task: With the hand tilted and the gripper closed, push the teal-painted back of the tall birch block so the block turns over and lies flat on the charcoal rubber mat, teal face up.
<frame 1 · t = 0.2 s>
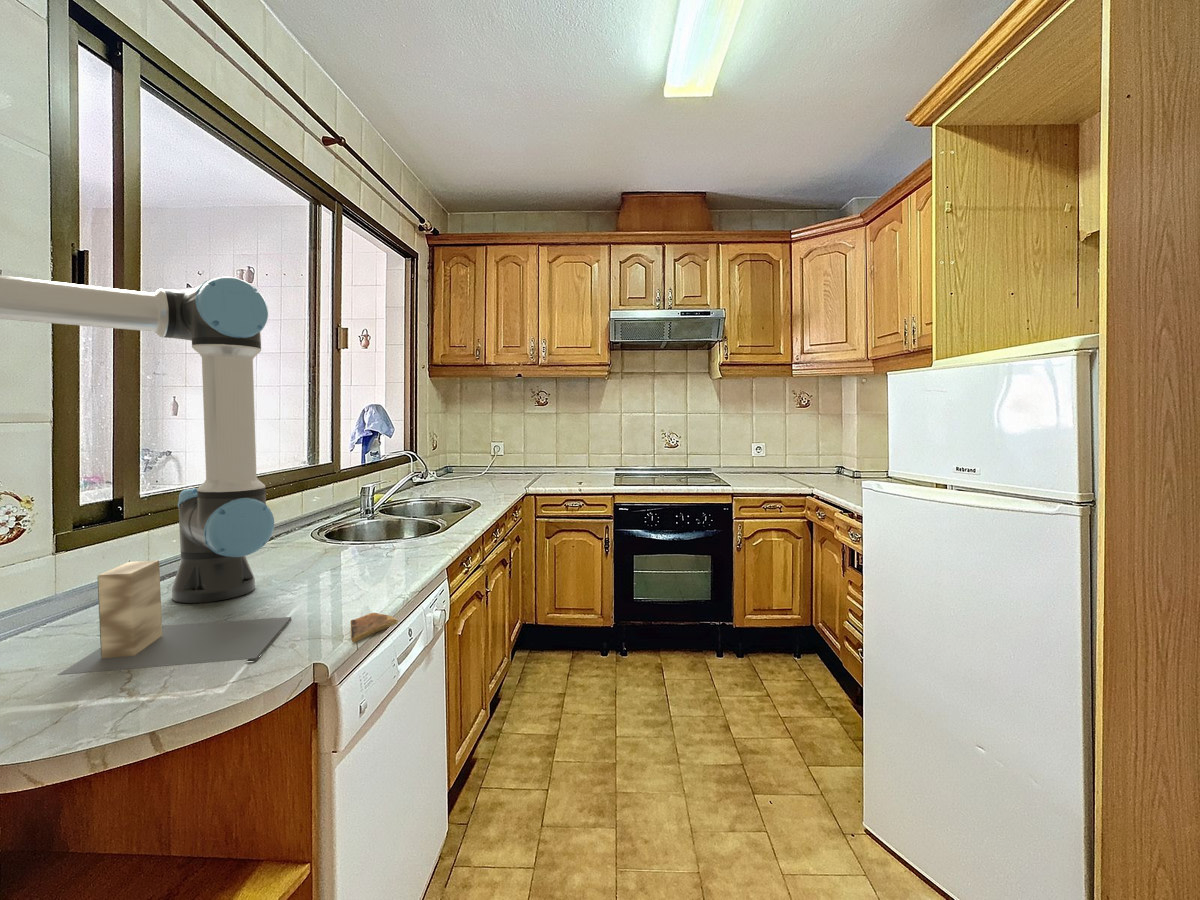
birch block: (133, 646, 98), point 1 cm above the worktop, touching rubber mat
shard: (374, 632, 108), on the worktop
rubber mat: (189, 645, 100), on the worktop
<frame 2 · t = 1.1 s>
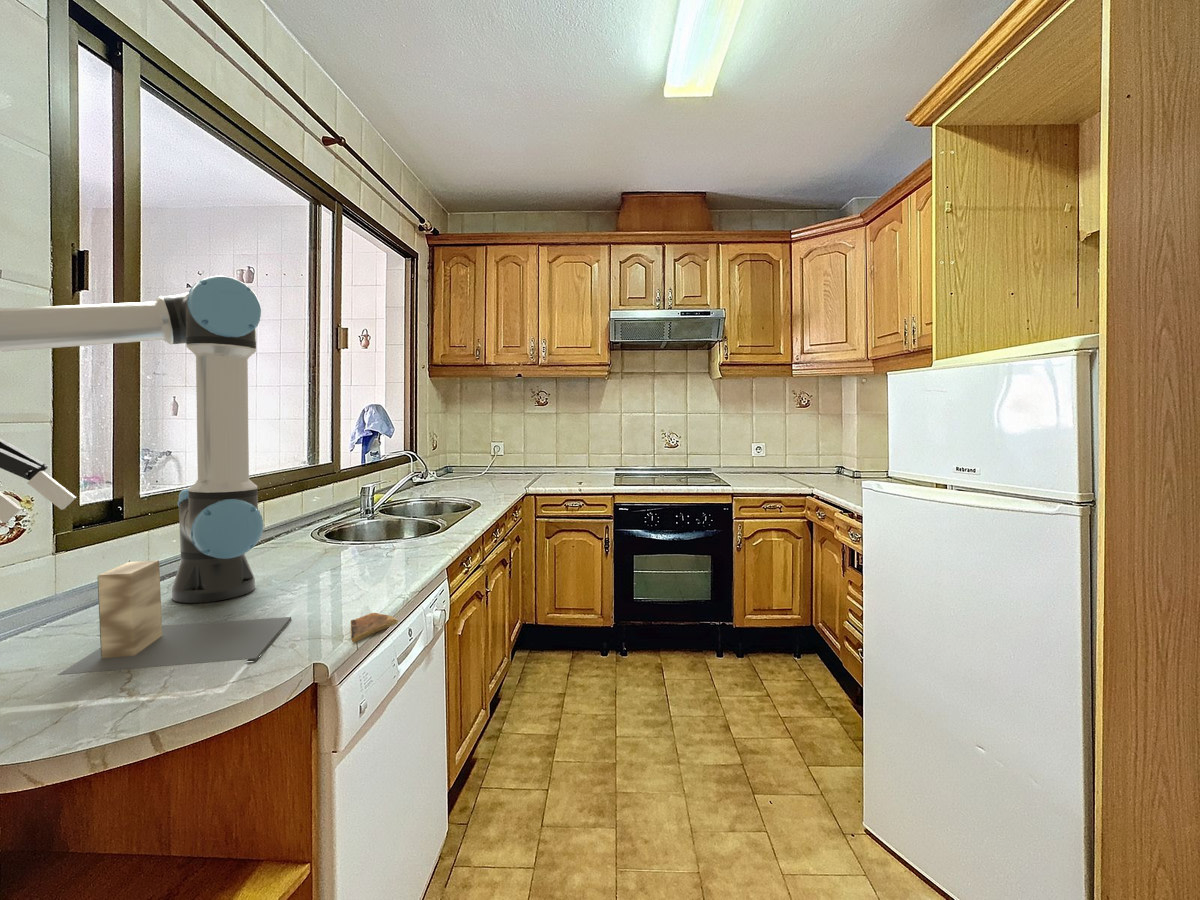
hand: (43, 509, 94), 23 cm above the worktop, tool tilted 45°, fingers open, 12 cm apart
nothing on the worktop moved.
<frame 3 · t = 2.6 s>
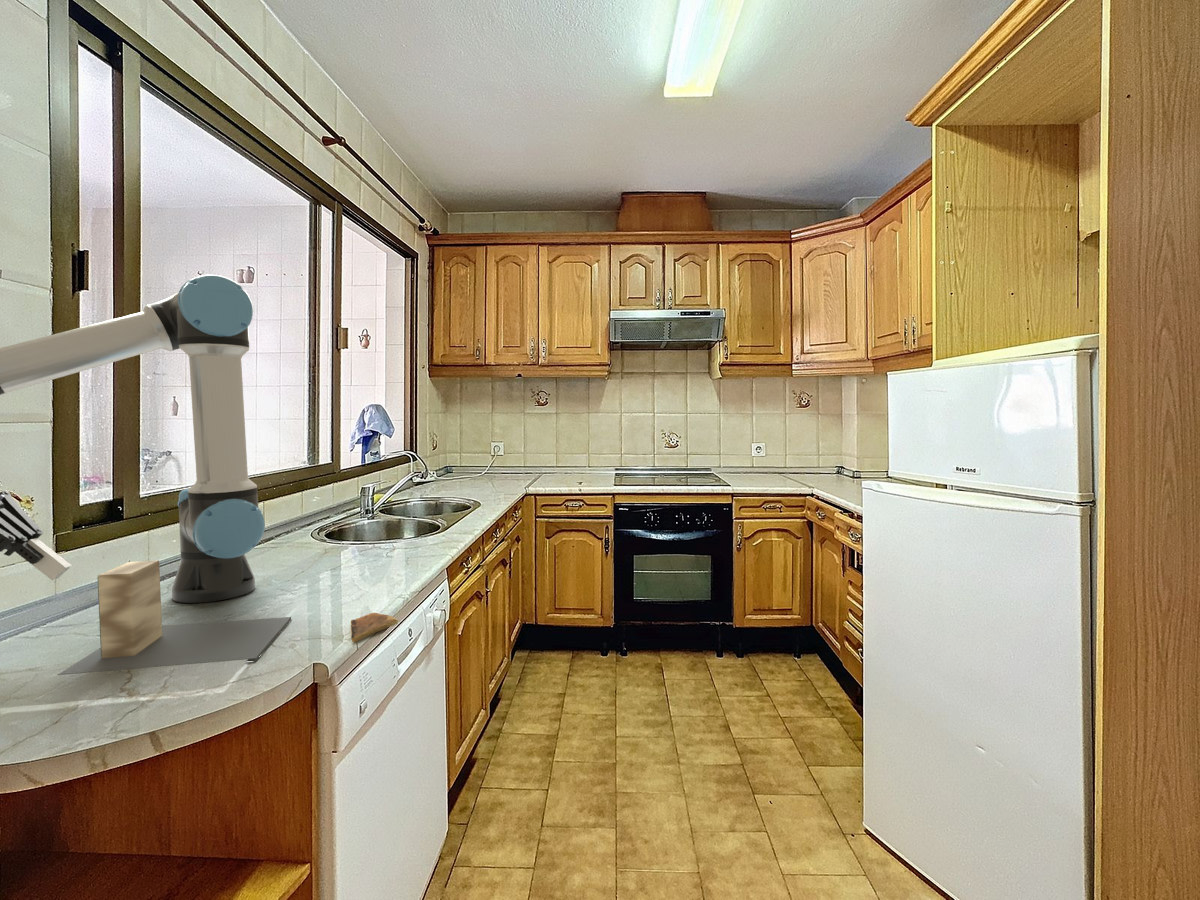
hand: (62, 572, 95), 13 cm above the worktop, tool tilted 45°, fingers closed
nothing on the worktop moved.
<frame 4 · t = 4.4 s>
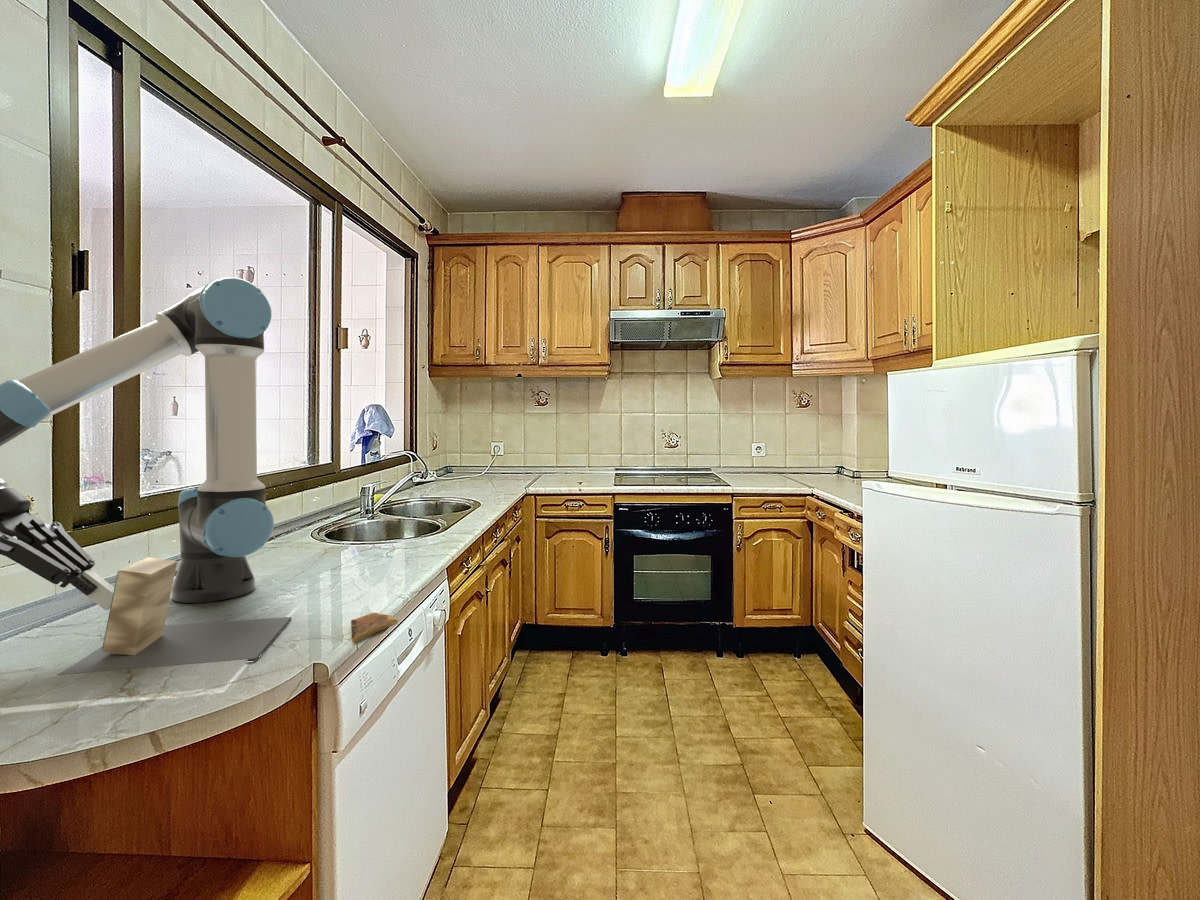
hand: (115, 602, 97), 8 cm above the worktop, tool tilted 45°, fingers closed
birch block: (133, 643, 98), point 1 cm above the worktop, tilted 12°, touching gripper, rubber mat
everything else where it was.
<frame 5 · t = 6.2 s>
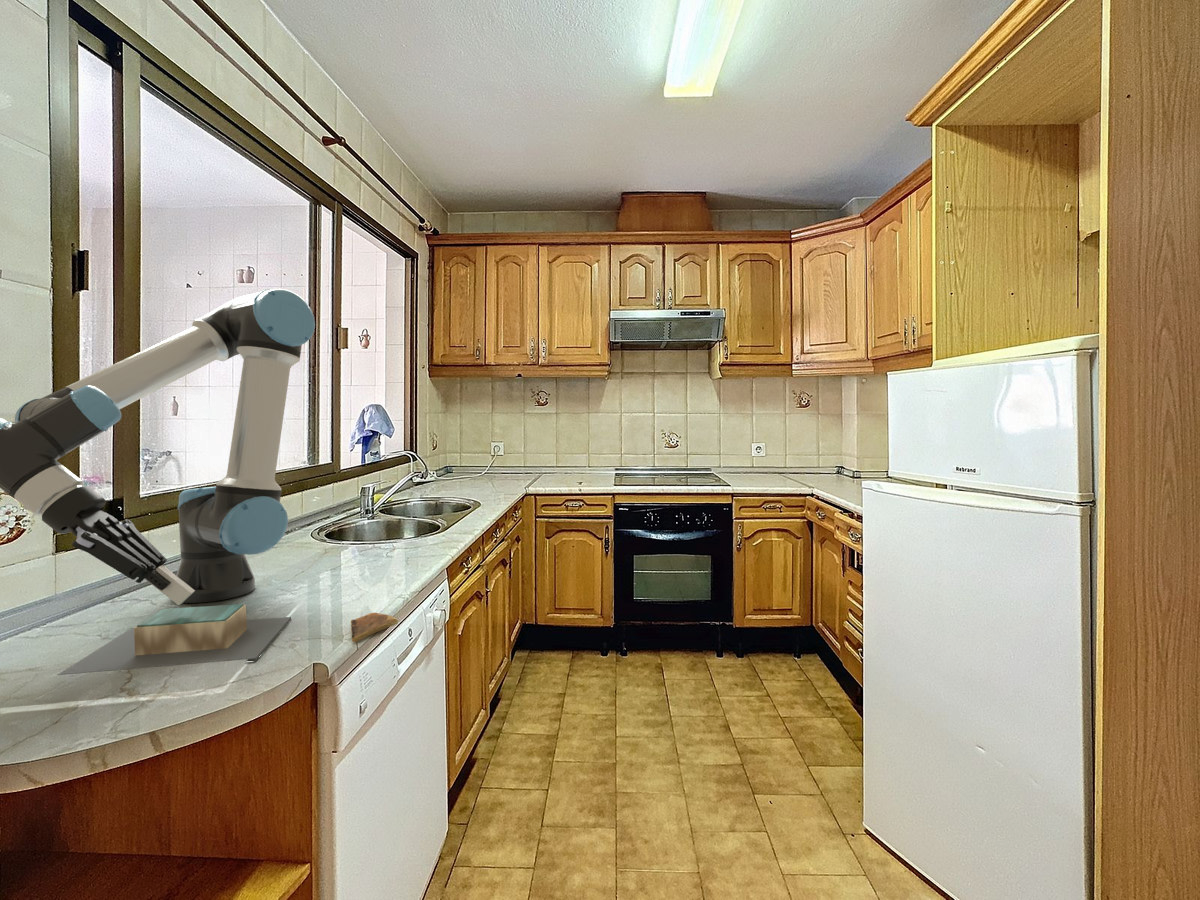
hand: (186, 597, 100), 8 cm above the worktop, tool tilted 45°, fingers closed
birch block: (148, 631, 99), point 3 cm above the worktop, tilted 90°, touching rubber mat
everything else where it was.
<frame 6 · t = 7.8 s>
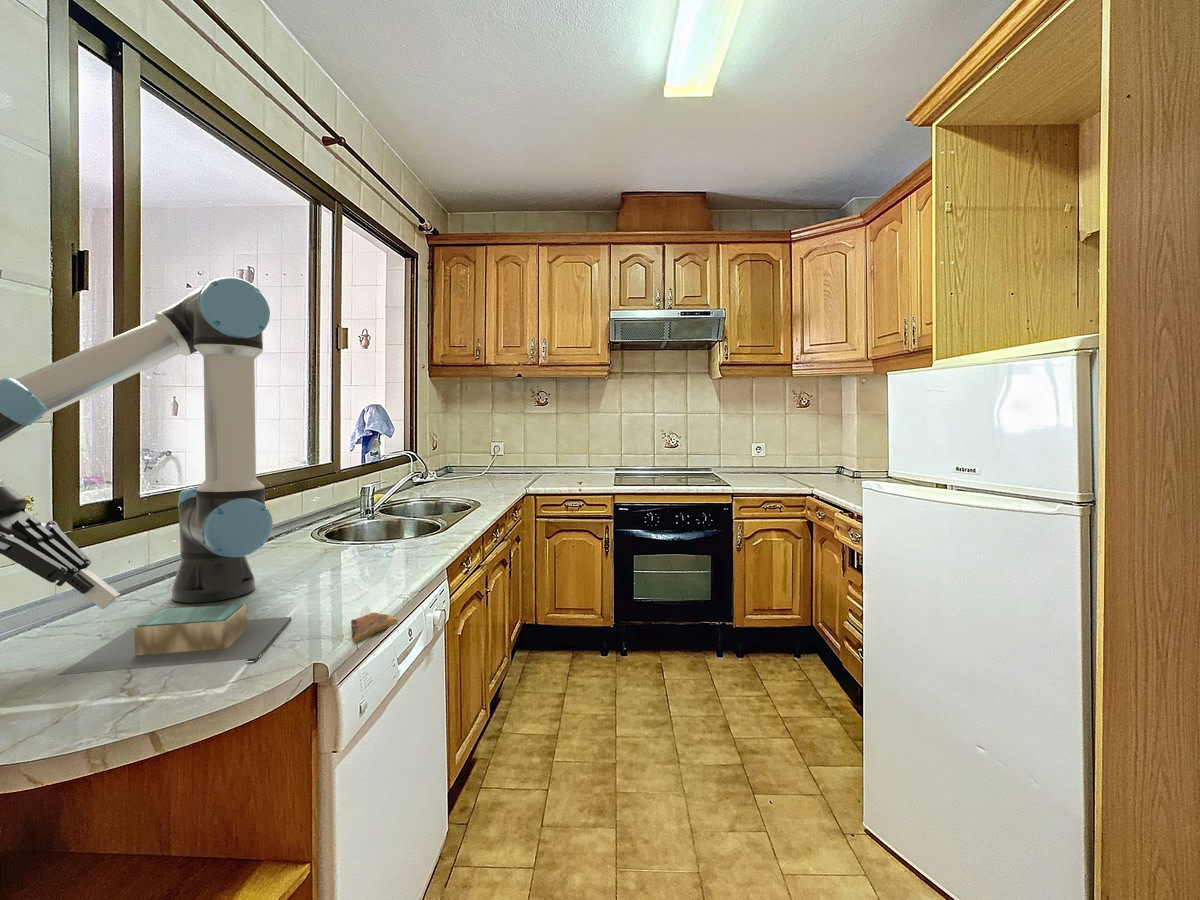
hand: (111, 601, 97), 8 cm above the worktop, tool tilted 45°, fingers closed
nothing on the worktop moved.
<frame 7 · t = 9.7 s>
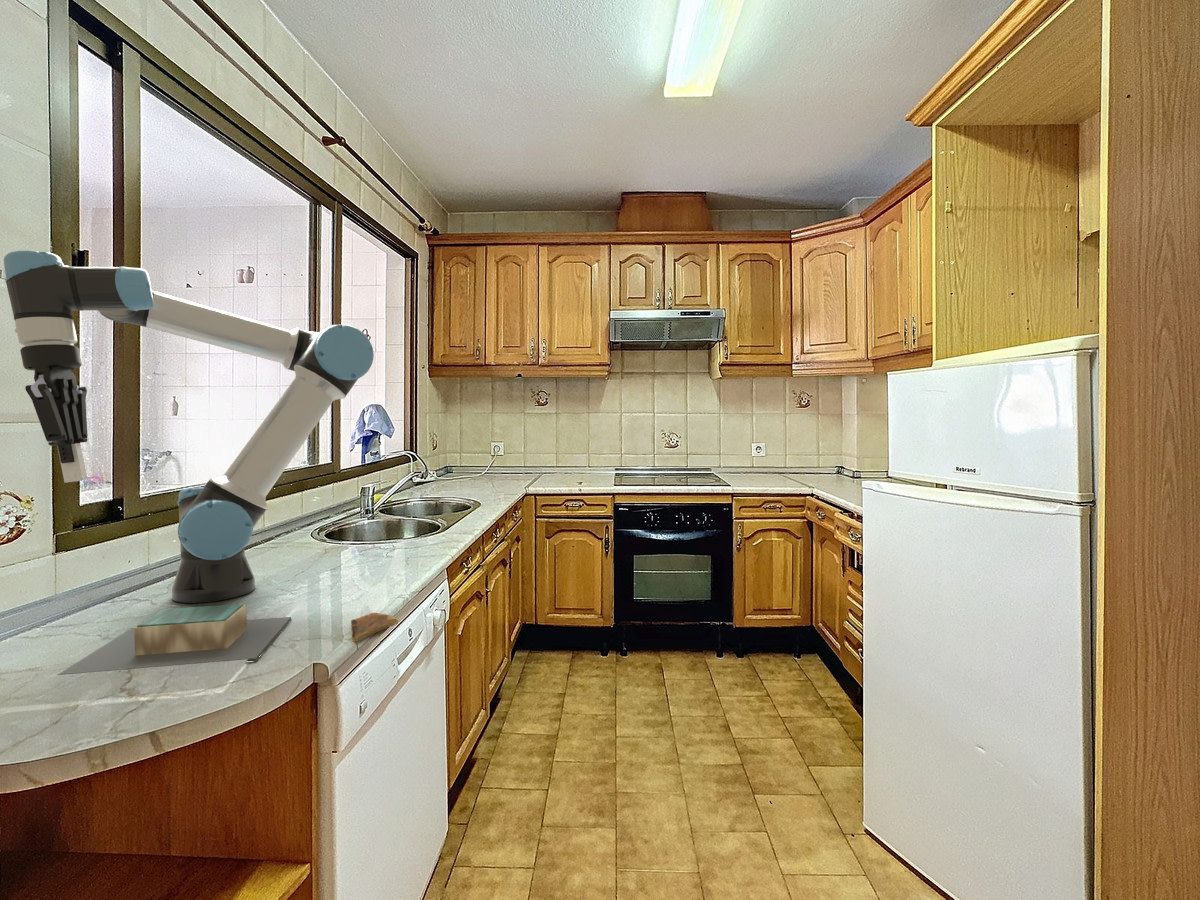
hand: (76, 480, 106), 27 cm above the worktop, tool pointing down, fingers closed
nothing on the worktop moved.
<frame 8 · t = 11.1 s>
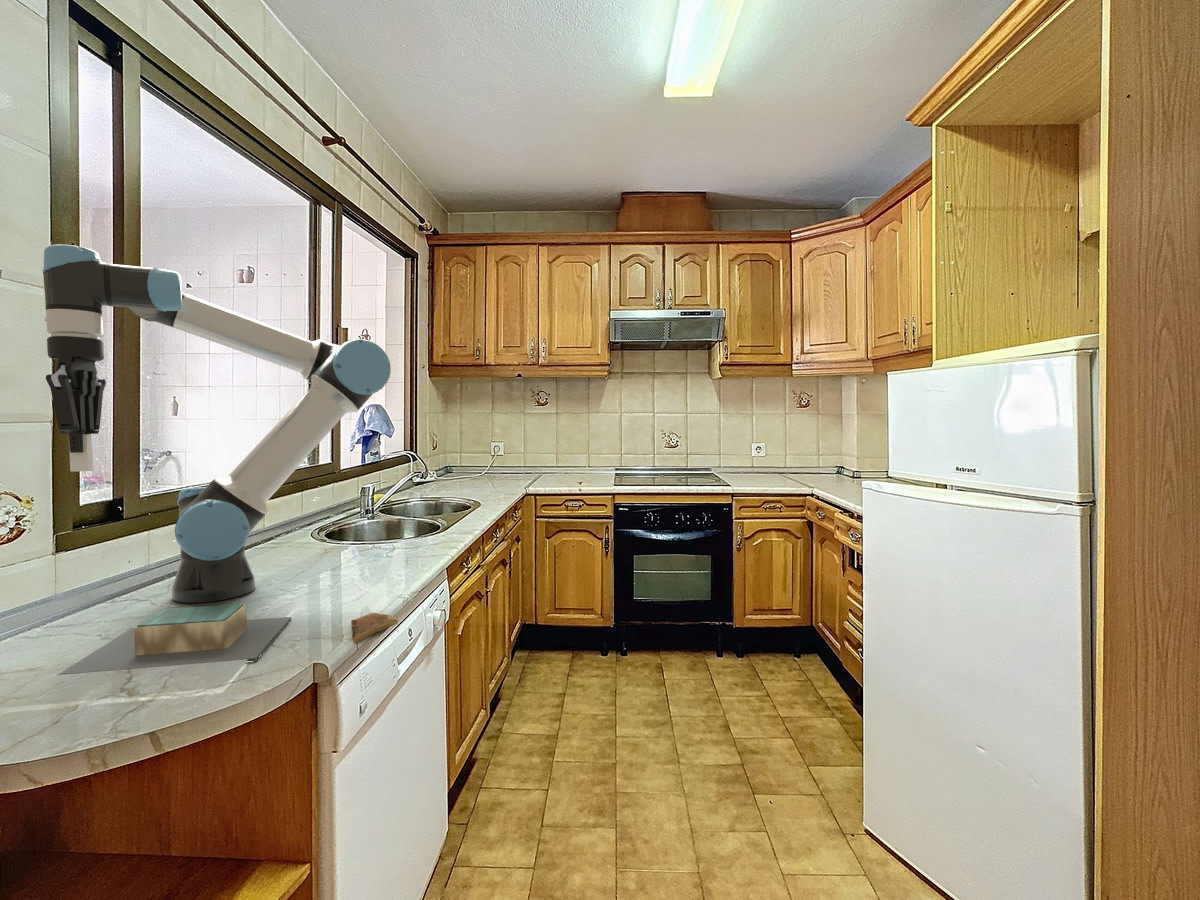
hand: (81, 470, 107), 28 cm above the worktop, tool pointing down, fingers closed
nothing on the worktop moved.
at the end: birch block tilted 90°; birch block inside the target area on the rubber mat (0.4 cm from its centre), point 2.8 cm above the rubber mat's base; birch block touching rubber mat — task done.
